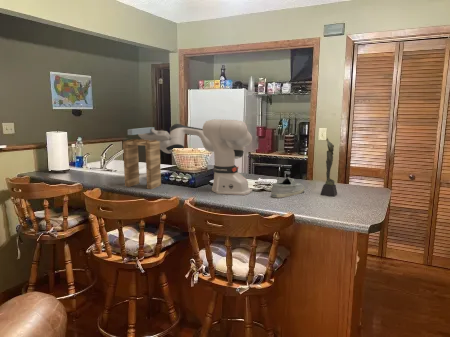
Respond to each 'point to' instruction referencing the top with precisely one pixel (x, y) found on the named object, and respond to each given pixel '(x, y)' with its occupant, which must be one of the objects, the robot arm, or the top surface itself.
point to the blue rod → (139, 131)
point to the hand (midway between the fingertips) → (148, 129)
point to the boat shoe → (286, 188)
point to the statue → (329, 186)
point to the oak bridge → (133, 163)
